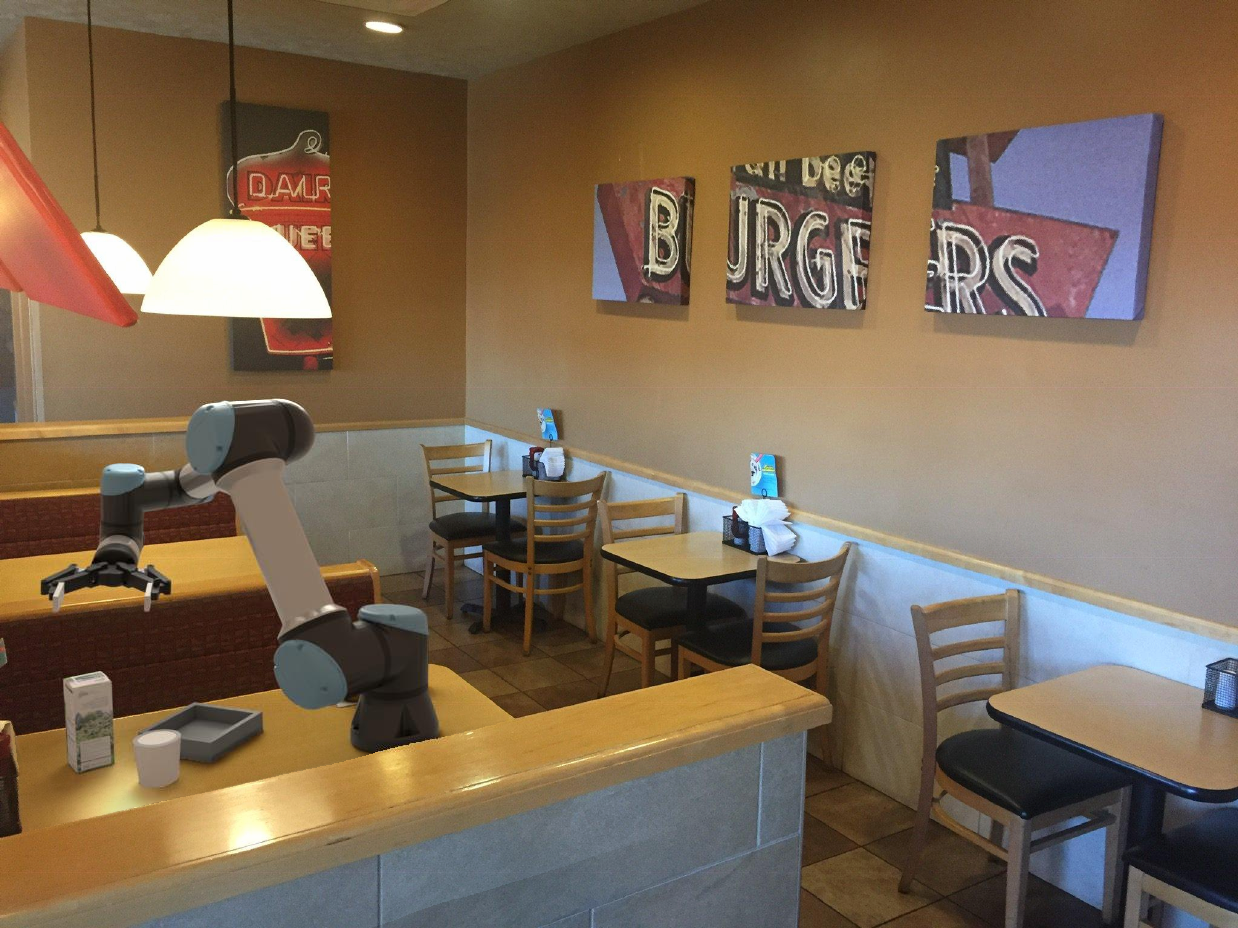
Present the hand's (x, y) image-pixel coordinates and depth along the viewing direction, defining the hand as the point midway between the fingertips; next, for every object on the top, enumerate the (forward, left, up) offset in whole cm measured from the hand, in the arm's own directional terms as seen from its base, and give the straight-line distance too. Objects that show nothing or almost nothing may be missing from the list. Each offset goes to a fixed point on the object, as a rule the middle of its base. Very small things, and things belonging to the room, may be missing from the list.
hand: (101, 604), depth 168 cm
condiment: (-28, -32, -25) cm, 49 cm away
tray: (-14, -6, -24) cm, 29 cm away
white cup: (-17, +9, -25) cm, 31 cm away
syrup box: (-3, +7, -25) cm, 26 cm away
